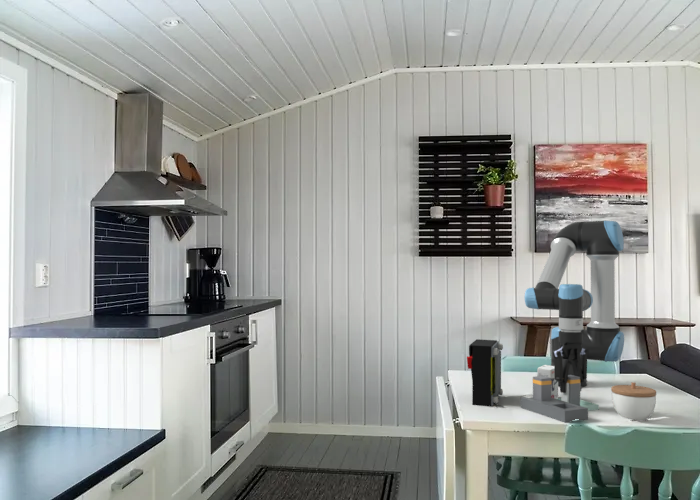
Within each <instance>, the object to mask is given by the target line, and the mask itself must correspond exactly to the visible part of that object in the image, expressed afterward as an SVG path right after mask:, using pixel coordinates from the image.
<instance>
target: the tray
mask: <svg viewBox="0 0 700 500" xmlns="http://www.w3.org/2000/svg"><path fill="white" fill-rule="evenodd" d="M557 399H558V400H561V397H558V398H557ZM580 406H582V407H585V408H588V412H589V411H596V410H600V409H599V408H600V405H599V404H598V403H594V402H590V401H587V400H583V399H581V398H580Z"/></svg>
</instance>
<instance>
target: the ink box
mask: <svg viewBox="0 0 700 500" xmlns="http://www.w3.org/2000/svg"><path fill="white" fill-rule="evenodd" d="M536 373H537V376H545V377H549V378H551V381H552V384H551V398H554V399H557V398H559V386H558V381H557V380H555V370H554V366H551V364H550V365H549V364H543V365H542V366H538V367H537V372H536Z"/></svg>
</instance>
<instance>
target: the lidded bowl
mask: <svg viewBox="0 0 700 500" xmlns="http://www.w3.org/2000/svg"><path fill="white" fill-rule="evenodd" d="M610 388H611V389H610V390H611V400H612V404H613V405H612V406H613V408H614V410H615V412H616V413H617V414H618V415H619V416H620V417H622V418H624V419H628V420H629V419H630V421H631V422H646V421H647V420H648V419H649V417H651V415H652V414H654V411H655V410H656V409H655V408H656V404H657V403H656V402H657V390H655V388H651V387H647V386H643V385H637V384H636V382H635V381H634V382H631V384H616V385H612V386H611V387H610Z"/></svg>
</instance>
